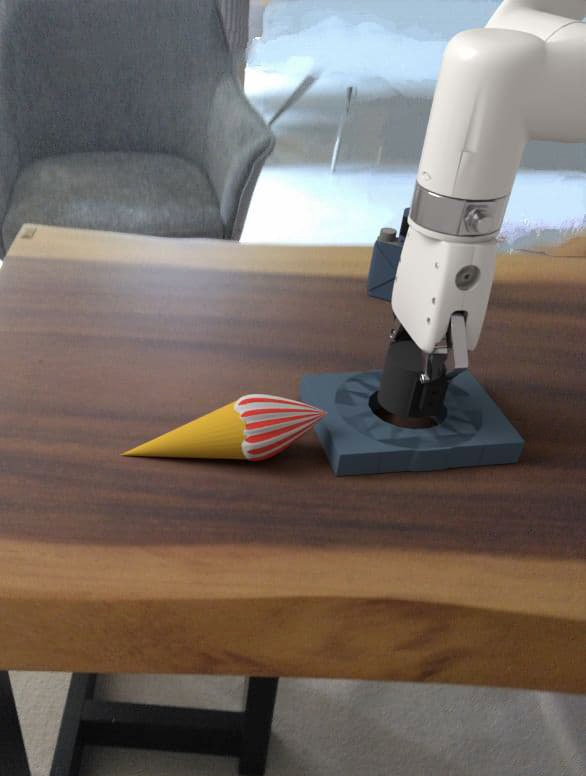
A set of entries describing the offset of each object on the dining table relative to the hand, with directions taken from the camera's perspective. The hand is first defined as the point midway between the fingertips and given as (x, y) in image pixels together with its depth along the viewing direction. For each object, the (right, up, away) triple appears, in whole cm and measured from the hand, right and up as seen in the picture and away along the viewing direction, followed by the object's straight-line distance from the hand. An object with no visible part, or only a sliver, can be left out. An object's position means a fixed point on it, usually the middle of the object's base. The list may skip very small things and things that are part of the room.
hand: (410, 394), depth 77 cm
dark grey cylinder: (0, -1, +1) cm, 1 cm away
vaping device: (+4, +17, +25) cm, 30 cm away
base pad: (0, -3, +3) cm, 4 cm away
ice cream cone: (-19, -6, -1) cm, 19 cm away
